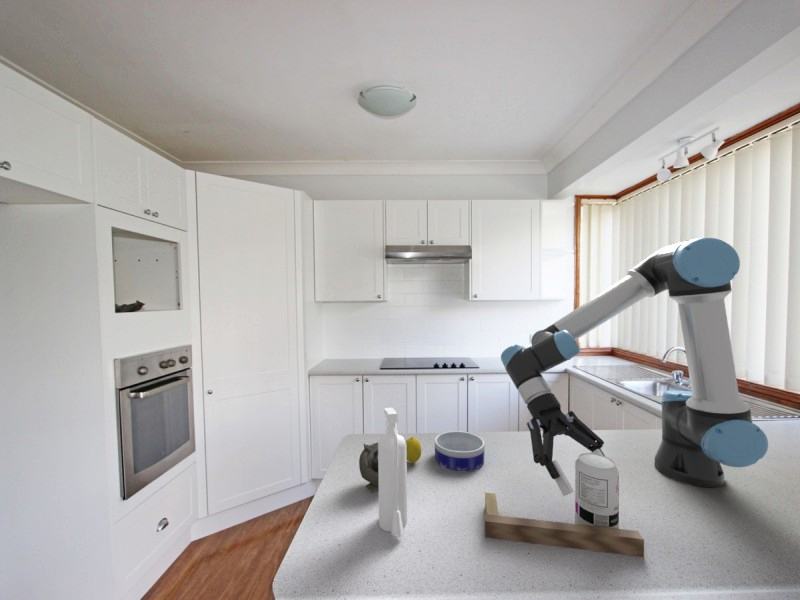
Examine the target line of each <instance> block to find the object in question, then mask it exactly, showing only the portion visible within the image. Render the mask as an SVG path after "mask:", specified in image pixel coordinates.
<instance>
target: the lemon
mask: <svg viewBox="0 0 800 600" xmlns="http://www.w3.org/2000/svg"><path fill="white" fill-rule="evenodd" d="M405 442H406V445H407V461H408V462H409V463H410V464H414V463H415V462H417V461H418V460H420V458H421V455H422V445H421V443H420V441H419V440H418V439H417V438H415V437H414V436H411V437H409V438H407V439H406V440H405Z"/></svg>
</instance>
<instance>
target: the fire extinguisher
mask: <svg viewBox="0 0 800 600" xmlns="http://www.w3.org/2000/svg"><path fill="white" fill-rule="evenodd" d="M383 409H384V415H385V418H386V421H385V434H384V435H382V436H380V438H379V440H378V478H379V493H378V524H379V527H380V528H381V529H382V530H383V531H385V532H390V533H391V535H392V536H396V537H401V536H402V535H403V534H404V532H405V531H404V529H405V528H406V526H407V525H408V486H407V485H408V473H407V471H408V470H407V466H408V464H407V463H408V462H407V445H406V442H405V441H406V440H405V438H404V436H403V435H401V434H399V433H398V426H397V423H399V419H398V413H397V411H396V410H395V409H394V407H384V408H383Z"/></svg>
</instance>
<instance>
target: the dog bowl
mask: <svg viewBox="0 0 800 600" xmlns="http://www.w3.org/2000/svg"><path fill="white" fill-rule="evenodd" d="M485 445H486V443H485V441H484V439H483V438H482V437H480V436H478V435H477V434H474V433H471V432H467V431H460V430H451V431H450V430H449V431H446V432H445V431H444V432H442V433H439V434H438V435H436V436H435V438H434V457H435V459H434V460H435V462H436V463H437V464H438V465H439V466H440V467H442V468H443V469H447V470H449V471H453V472H461V473H462V472H463V473H465V472H473V471H477V470H479V469H481V468H482V467H483V466H484V464H485V447H486V446H485Z"/></svg>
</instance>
